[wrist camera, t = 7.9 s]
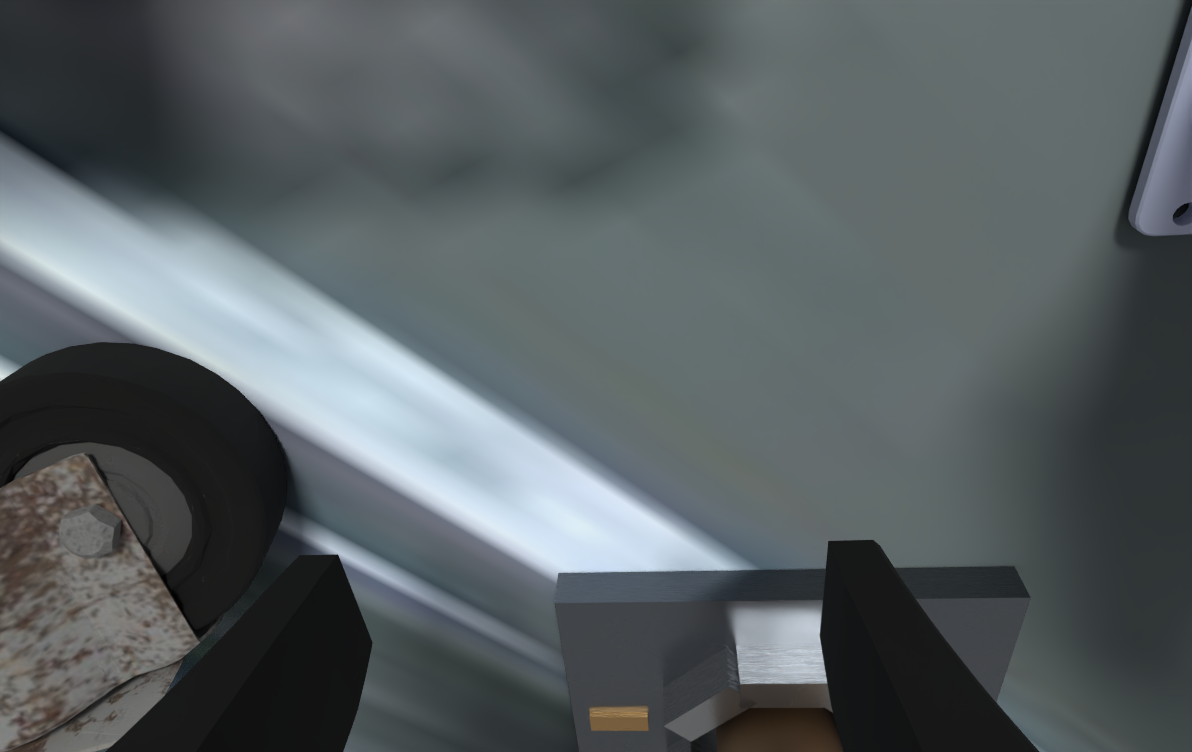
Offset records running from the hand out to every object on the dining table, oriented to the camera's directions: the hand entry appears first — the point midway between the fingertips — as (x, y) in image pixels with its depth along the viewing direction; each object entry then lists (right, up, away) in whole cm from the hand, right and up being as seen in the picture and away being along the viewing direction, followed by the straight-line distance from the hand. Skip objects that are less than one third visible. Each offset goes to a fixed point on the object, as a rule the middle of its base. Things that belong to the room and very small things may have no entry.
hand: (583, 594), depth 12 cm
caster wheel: (-14, 0, +12) cm, 19 cm away
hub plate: (+6, -8, +16) cm, 19 cm away
